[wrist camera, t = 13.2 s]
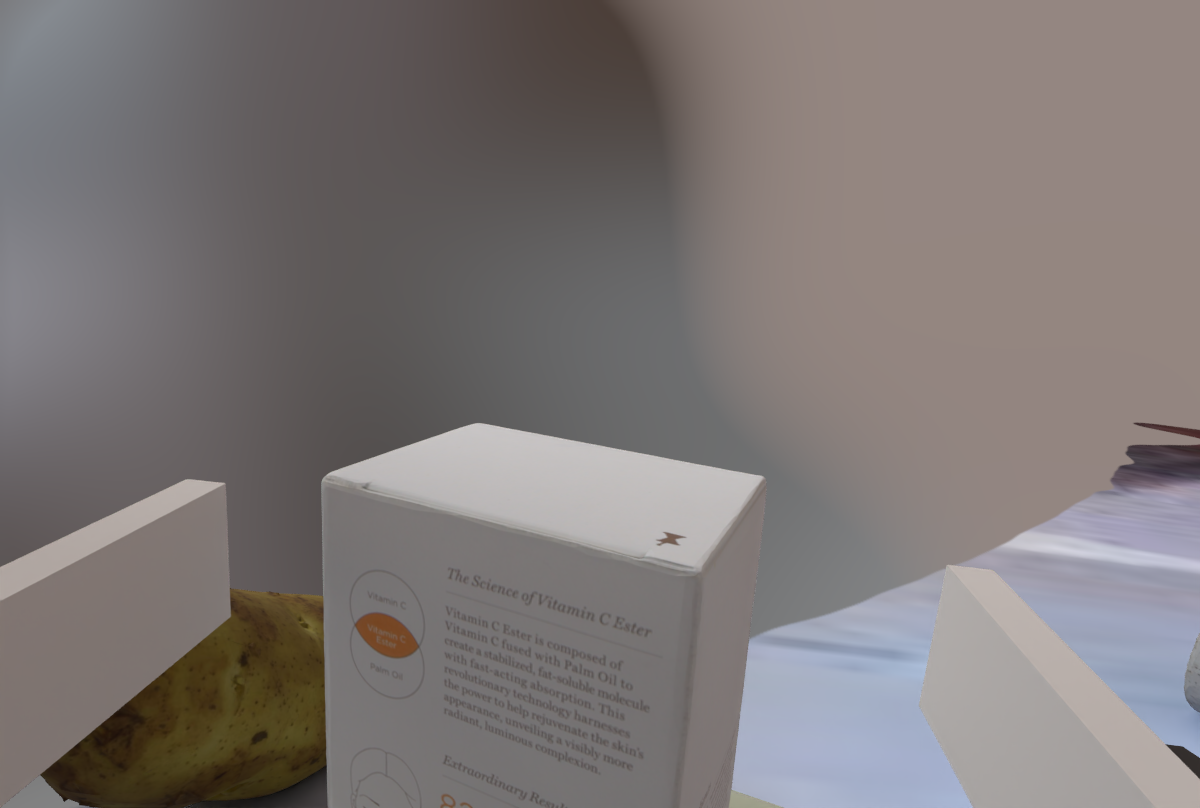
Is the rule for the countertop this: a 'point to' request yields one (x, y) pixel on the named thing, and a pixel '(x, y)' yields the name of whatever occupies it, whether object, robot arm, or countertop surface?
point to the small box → (535, 625)
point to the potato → (215, 716)
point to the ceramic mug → (1193, 677)
